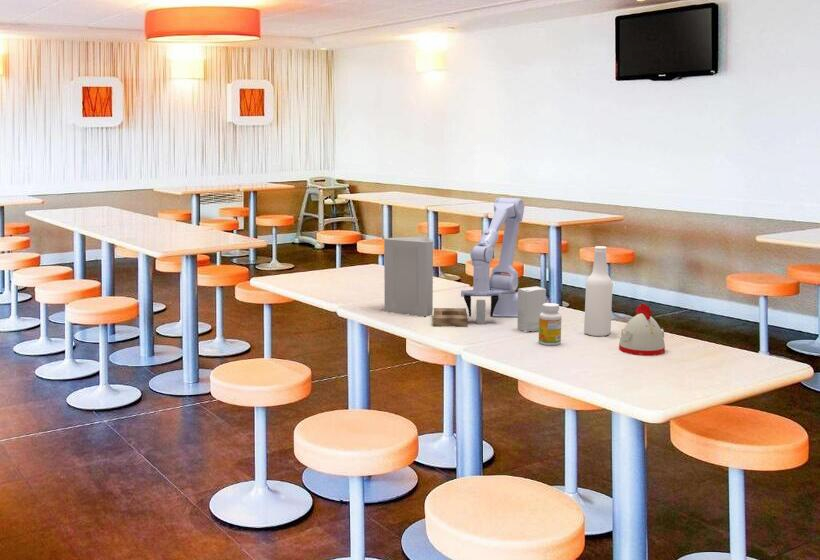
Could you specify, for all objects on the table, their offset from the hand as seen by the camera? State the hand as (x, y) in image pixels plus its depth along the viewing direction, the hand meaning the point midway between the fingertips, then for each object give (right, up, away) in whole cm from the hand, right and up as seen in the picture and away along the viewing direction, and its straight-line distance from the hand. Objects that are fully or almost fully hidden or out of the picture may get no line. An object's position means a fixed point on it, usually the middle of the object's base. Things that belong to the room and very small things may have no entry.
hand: (480, 316), depth 312 cm
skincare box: (+17, -5, -11) cm, 20 cm away
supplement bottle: (+20, -8, -30) cm, 37 cm away
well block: (-11, -2, +3) cm, 11 cm away
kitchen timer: (+48, -9, -39) cm, 62 cm away
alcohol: (+38, -6, -17) cm, 42 cm away
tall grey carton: (-24, +1, +21) cm, 32 cm away
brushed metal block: (0, -2, 0) cm, 2 cm away
